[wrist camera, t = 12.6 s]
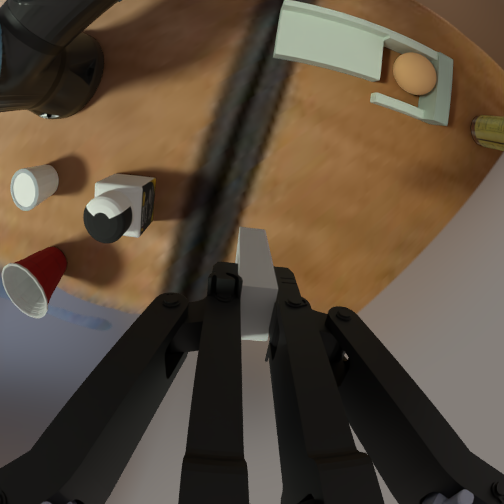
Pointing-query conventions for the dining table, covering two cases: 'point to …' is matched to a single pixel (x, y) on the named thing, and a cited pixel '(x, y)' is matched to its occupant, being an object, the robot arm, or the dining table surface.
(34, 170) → the white tapered cup
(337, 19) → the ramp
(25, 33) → the robot arm
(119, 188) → the medicine bottle
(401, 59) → the ball
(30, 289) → the plastic cup
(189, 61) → the dining table surface
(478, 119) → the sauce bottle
